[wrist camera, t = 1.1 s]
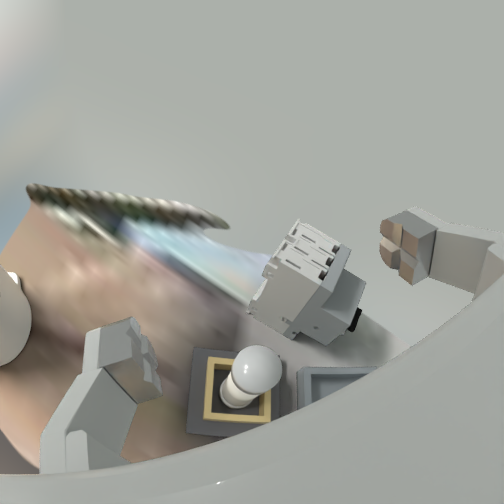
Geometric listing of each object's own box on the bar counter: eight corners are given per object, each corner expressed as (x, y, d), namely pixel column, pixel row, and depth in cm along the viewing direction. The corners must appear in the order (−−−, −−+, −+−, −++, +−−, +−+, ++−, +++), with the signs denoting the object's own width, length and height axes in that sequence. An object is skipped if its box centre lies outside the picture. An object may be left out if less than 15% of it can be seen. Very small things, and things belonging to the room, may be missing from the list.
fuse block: (186, 432, 33) (185, 431, 30) (193, 350, 40) (194, 339, 37) (276, 438, 35) (286, 437, 31) (276, 358, 42) (285, 348, 39)
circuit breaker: (325, 359, 43) (377, 319, 32) (245, 312, 46) (269, 255, 34) (342, 322, 48) (390, 273, 36) (268, 279, 50) (296, 217, 38)
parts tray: (297, 464, 33) (305, 465, 31) (296, 372, 41) (303, 366, 39) (372, 455, 35) (383, 454, 32) (366, 372, 43) (376, 366, 41)
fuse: (217, 408, 35) (232, 389, 24) (219, 376, 38) (235, 342, 27) (251, 410, 35) (282, 392, 24) (252, 379, 38) (282, 346, 27)
